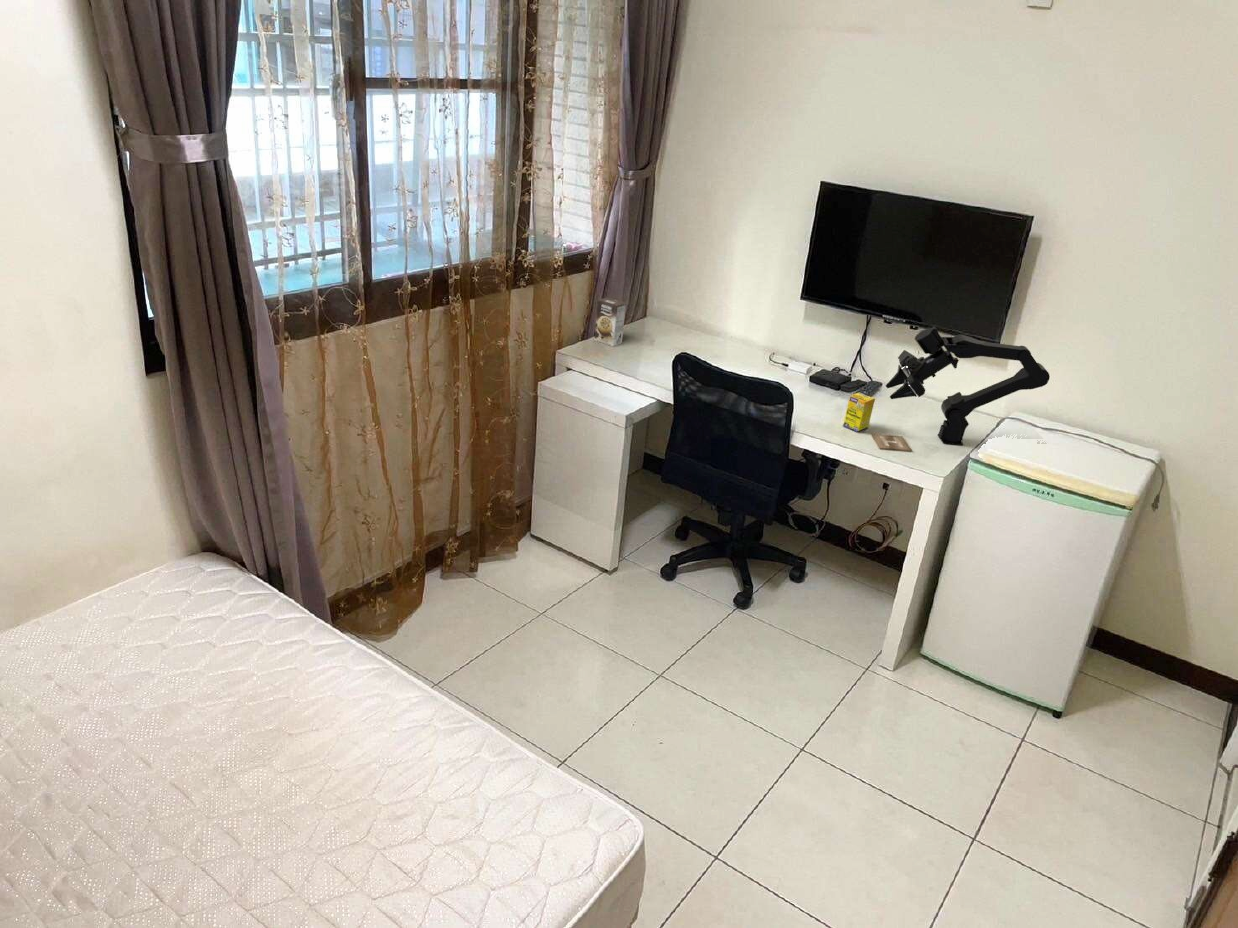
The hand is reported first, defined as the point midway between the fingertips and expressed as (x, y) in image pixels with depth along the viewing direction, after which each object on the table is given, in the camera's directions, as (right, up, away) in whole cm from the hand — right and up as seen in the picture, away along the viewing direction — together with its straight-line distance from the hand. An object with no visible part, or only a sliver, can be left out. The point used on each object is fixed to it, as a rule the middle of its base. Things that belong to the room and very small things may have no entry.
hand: (888, 392), depth 281 cm
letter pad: (0, -16, -2) cm, 16 cm away
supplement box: (-9, -11, +7) cm, 16 cm away
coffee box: (-89, +24, +58) cm, 110 cm away
